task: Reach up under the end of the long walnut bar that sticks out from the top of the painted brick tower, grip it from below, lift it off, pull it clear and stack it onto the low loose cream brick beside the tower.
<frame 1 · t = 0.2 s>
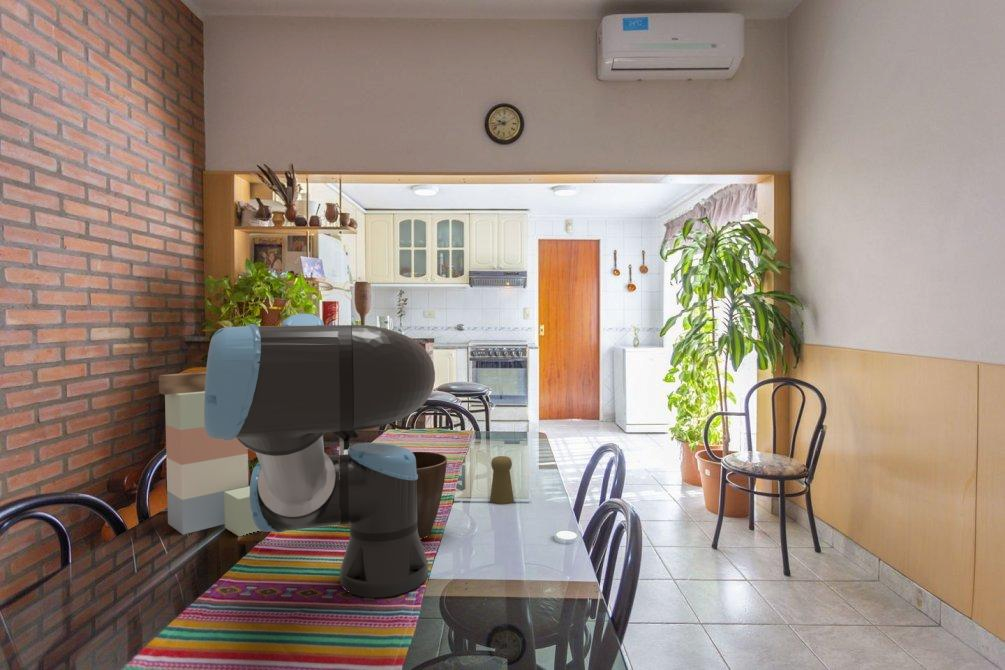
hand: (309, 461, 123), 15 cm above the table, tool tilted 35°, fingers open, 13 cm apart
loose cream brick: (259, 524, 126), on the table
plant pot: (412, 535, 120), on the table
fruit: (234, 494, 150), on the table
cork: (501, 501, 142), on the table
walnut bar: (224, 388, 132), point 30 cm above the table, touching brick tower
brick tower: (209, 520, 129), on the table
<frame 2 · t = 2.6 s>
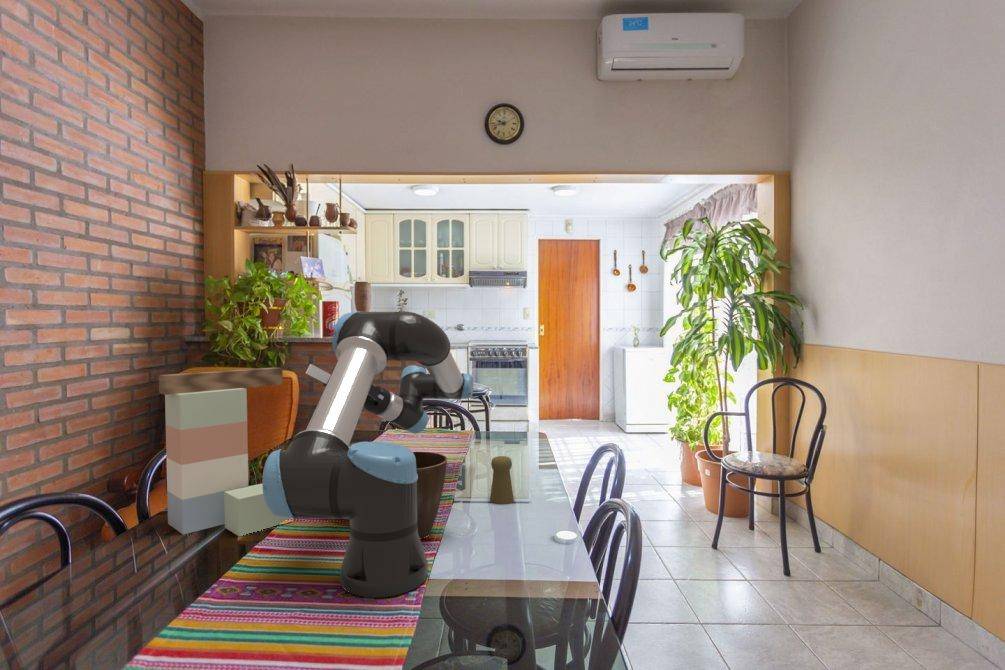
hand: (321, 370, 144), 33 cm above the table, tool pointing upward, fingers open, 13 cm apart
nothing on the table moved.
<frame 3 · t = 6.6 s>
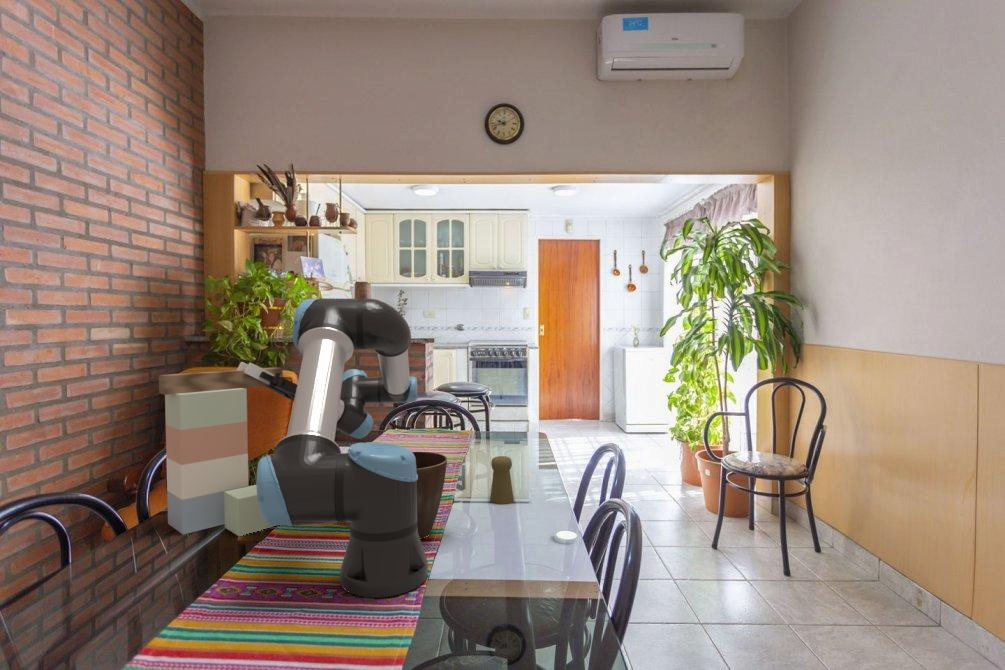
hand: (243, 367, 135), 35 cm above the table, tool pointing upward, fingers closed on walnut bar, 4 cm apart
walnut bar: (224, 388, 132), point 30 cm above the table, touching brick tower, gripper
everything else where it was.
when the fingers open (12 cm above the table, at t = 12.6 s): walnut bar stays where it is, resting on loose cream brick.
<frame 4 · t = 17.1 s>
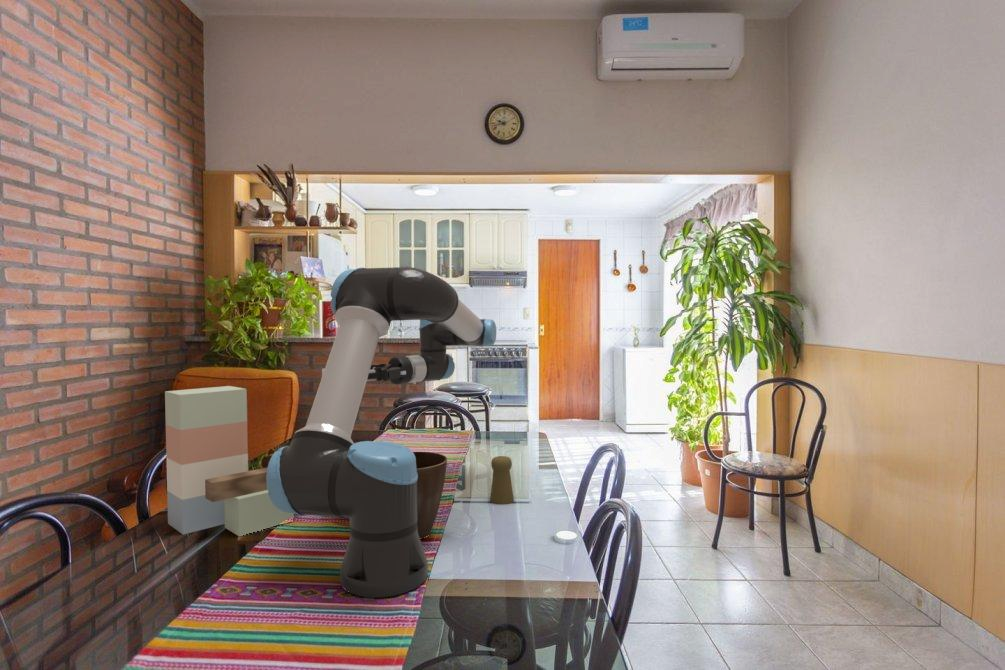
hand: (336, 375, 140), 32 cm above the table, tool horizontal, fingers open, 13 cm apart
walnut bar: (269, 486, 128), point 8 cm above the table, touching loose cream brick
everything else where it was.
at the end: walnut bar inside the target area on the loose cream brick (2.5 cm from its centre), point 8.0 cm above the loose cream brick's base; walnut bar touching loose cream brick; the gripper is holding nothing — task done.
